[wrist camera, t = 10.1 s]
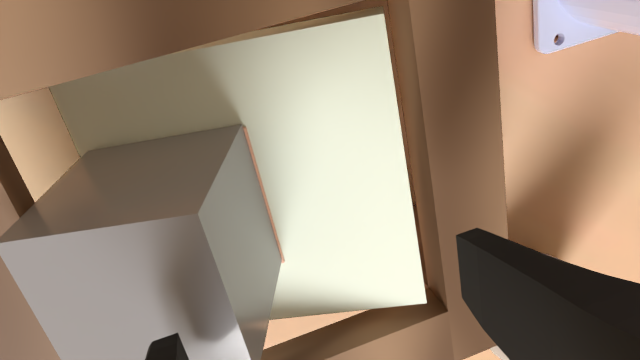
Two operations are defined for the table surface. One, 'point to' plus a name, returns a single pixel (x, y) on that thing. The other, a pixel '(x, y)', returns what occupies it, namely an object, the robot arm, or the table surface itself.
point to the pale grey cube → (151, 251)
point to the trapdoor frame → (420, 123)
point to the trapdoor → (287, 147)
